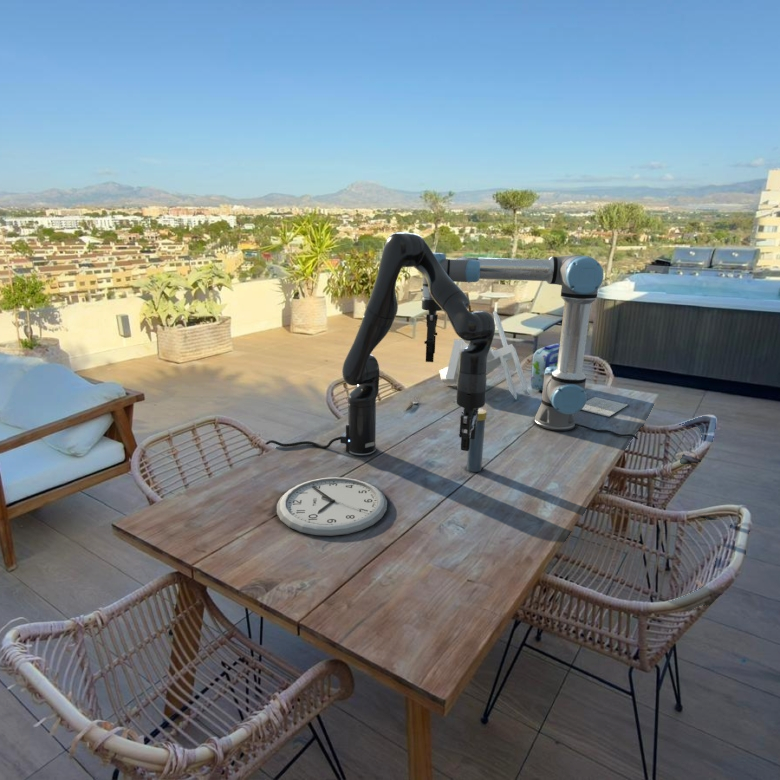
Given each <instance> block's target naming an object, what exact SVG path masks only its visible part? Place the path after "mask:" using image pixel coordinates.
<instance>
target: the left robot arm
mask: <svg viewBox="0 0 780 780" xmlns="http://www.w3.org/2000/svg"><path fill="white" fill-rule="evenodd" d="M433 253H434V252H433V251H432V249H431V248H430V246H429V244H428V243H427V242H426V240H425V239H424V238H423V237H422V236H421V235H419V234H417V233H412V232H411V233H410V232H395V233H392V234H390V235H389V236H388V238H387V239H386V241H385V243H384V246H383V250H382V252H381V257H380V260H379V261H380V262H379V265H378V270H377V274H376V278H375V281H374V283H373V287H372V290H371V294H370V296H369V299H368V301H367V304H366V306H365V309H364V312H363V315H362V319H361V322H360V324H359V327H358V330H357V333H356V335H355V338H354V340H353V343H352V345H351V347H350V348H349V351H348V353H347V355H346V357H345V359H344V361H343V365H342V373H341V374H342V378H343V380H344V382H345V383H346V384H347V385H349V386H354V387H355V388H353V390H352V391H350V392H349V394H348V396H347V424H346V425H345V431H344V432H343V433H342V434H341V435H340V436H337V437H333V438H332V439H330V440H329V441H328V443H327V444H325V445H322V444H319V443H317V442H314V441H311V440H310V441H309V440H305V441H298V442H297V441H296V442H290V443H282V442H279V441H277V440H274V439H269V440H267V441H266V442H265V443H264V445H266V446H268V445H270V444H274V445H277V446H279V447H294V446H295V447H296V446H299V445H300V446H301V445H312V446H314V447H317V448H320V449H329V448H330V446H332V444H333V443H334V442H336V441H339V442H340V444H344V445H345V452H346V453H348V454H350V455H352V456H357V457H368V456H370V455H371V456H372V455H373V454H375V453H376V449H377V447H376V445H377V443H376V436H377V435H376V434H377V431H376V428H377V427H376V425H377V423H376V421H377V418H376V417H377V397H378V395H379V389H380V388H379V387H380V364H379V362H378V360H377V358H376V357H375V356H374V355H373V354H372V353H373V351H374V350H375V349H376V347H377V346H378V345H379V344H380V343H381V342H382V341H383V339H384V338H385V337H386V336H387V335H388V333H389V332H390V330H391V328H392V327H393V324H394V322H395V320H396V317H397V314H398V309H399V303H398V297H397V293H396V284H397V281H398V278H399V275H400V272H401V271H402V269H403V268H414V269H415V270H417V271H418V272H419V273H420V274H422V276H423V275H424V277H425V278H426V280H427V283H428V287H429V291H430V294H431V296H432V298H433V299H434V300H435V302H436V303H437V304H438V305H439V306H440V307H441V309H442V310H441V311H443V312H444V313H445V314H446V316H447V318H448V321H449V323H450V325H451V327H452V329H453V331H454V333H455V334H456V336H458V337H459V339H463V340H464V341H466V342H469V343H468V344H467V345H468V346H467V347H466V348H465V349H463V350H462V351H461V354H460V364H459V375H458V383H457V384H456V386H457V387H456V404H457V406H459V407H462V408H463V411H461V414H460V417H459V418H460V422H459V434H458V437H459V438H460V439H461V440H460V450H461V451H465V452H468V451H469V448H470V439H474V438H475V430H476V425H477V422H478V413H479V412H478V410H479V408H480V409H482V408H483V407H484V406H485V404H486V395H487V393H486V392H487V375H486V368H487V355H488V353H489V350H490V347H491V348H492V344H493V340H494V337H495V334H496V333H495V332H496V321H495V318H494V316H493V314H491V313H490V312H489V311H485V310H479V311H473V312H472V311H470V310H468V309H469V307H470V299H469V297H468V296H467V294H466V293H465V292H464V291H463V290H462V289H461V288H460V287H459V286H458V285H457V284H456V283H455V282H453V281H452V280H451V278H450V277H449V276H448V275H447V273H446V272H445V271H444V269H443V268H442V266H441V265H440V263H439V262H438V260H437V259H436V257H435V256H434V254H433ZM465 430H466V432H465Z"/></svg>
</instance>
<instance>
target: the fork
mask: <svg viewBox="0 0 780 780" xmlns="http://www.w3.org/2000/svg"><path fill="white" fill-rule="evenodd" d="M420 399H421V397H420V396H415V397H414V398H413V400H412V404H410V405H408V407H407V408H406V410H405V411H409V410H411V409H412V408H413V406H414V405H415V404H419V402H420Z"/></svg>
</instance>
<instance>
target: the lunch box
mask: <svg viewBox="0 0 780 780" xmlns="http://www.w3.org/2000/svg"><path fill="white" fill-rule="evenodd" d="M559 346H560V343H553V344H550V345H547V346H546V345H545V346H544V347H541V348H538V349H537V350H536V351H535V352H534V354H533V357H532V362H531V371H530V372H531V374H530V387H531V389H533V390H539V391H543V382H544V373H545V369H546V368H547V367H553V366H557V364H558V355H559Z"/></svg>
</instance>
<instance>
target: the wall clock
mask: <svg viewBox="0 0 780 780" xmlns="http://www.w3.org/2000/svg"><path fill="white" fill-rule="evenodd" d="M387 509H388V500H387V498H386V496H385V494H384V493H383V492H382V491H381V490H380V489H379V488H377V487H376V486H374V485H372V484H371V483H369V482H365V481H362V480H359V479H355V478H349V477H338V476H337V477H335V476H333V477H332V476H331V477H322V478H317V479H312V480H307V481H305V482H302V483H299V484H297V485H295V486H293V487H292V488H290V489H288V490H287V491H286V492H285V493H284V494H283V495H281V496H280V498H279V499H278V502H277V503H276V515H277V517H278V518H279V520H280V521H281V522H282V523H283V524H285V525H286V526H287V527H288V528H290V529H293V530H295V531H297V532H299V533H303V534H308V535H312V536H327V537H328V536H329V537H331V536H332V537H333V536H342V535H350V534H352V533H356V532H361V531H363V530H366V529H368V528H369V527H372V526H373V525H375V524H376V523H378V522H379V521H380V520H381V519H382V518H383V517H384V516H385V514H386V512H387Z"/></svg>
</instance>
